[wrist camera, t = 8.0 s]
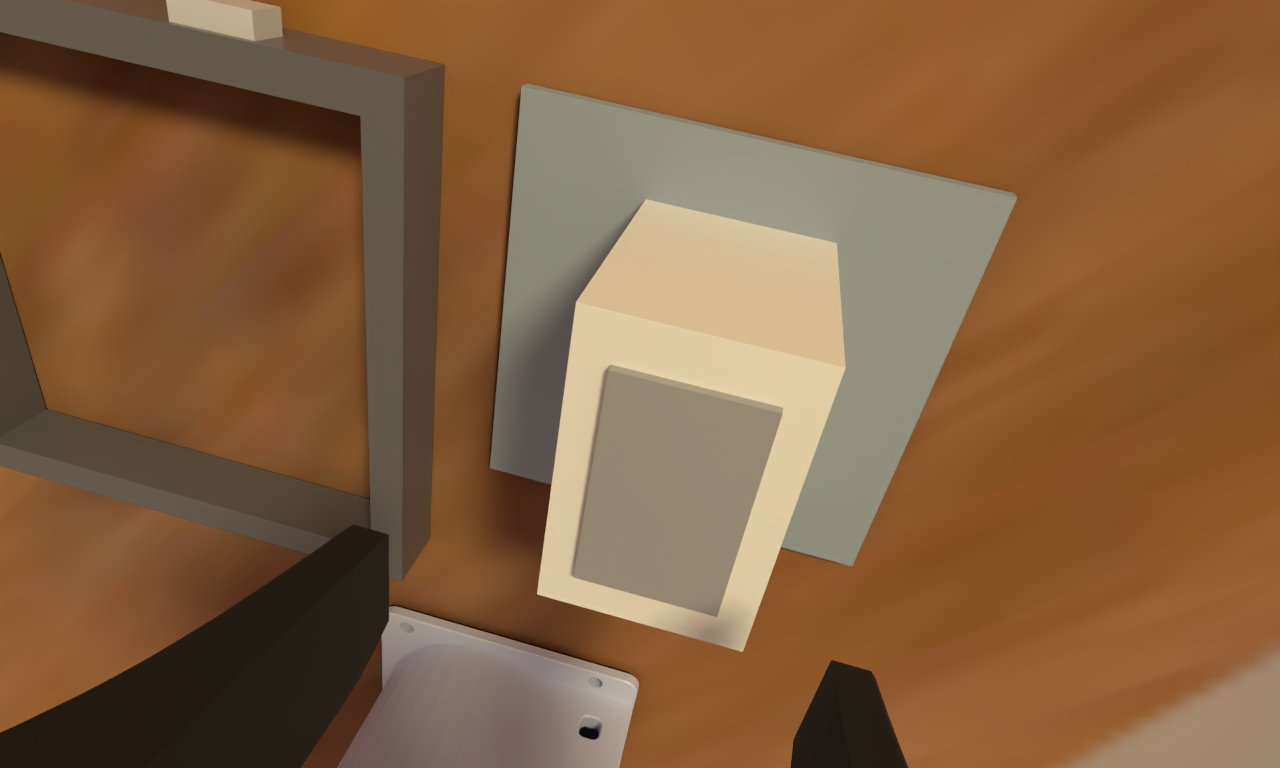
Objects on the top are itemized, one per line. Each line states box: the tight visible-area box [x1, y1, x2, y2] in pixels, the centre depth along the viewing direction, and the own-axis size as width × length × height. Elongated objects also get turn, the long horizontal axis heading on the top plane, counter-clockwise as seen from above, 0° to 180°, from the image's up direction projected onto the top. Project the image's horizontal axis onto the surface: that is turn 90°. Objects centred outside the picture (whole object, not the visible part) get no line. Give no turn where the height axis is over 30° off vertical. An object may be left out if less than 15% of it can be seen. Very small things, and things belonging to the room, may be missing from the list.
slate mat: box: [490, 83, 1017, 566], centre depth 19 cm, size 11×11×1 cm
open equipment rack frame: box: [0, 0, 445, 581], centre depth 21 cm, size 15×16×2 cm
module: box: [537, 199, 846, 652], centre depth 16 cm, size 4×7×6 cm, turn 170°
